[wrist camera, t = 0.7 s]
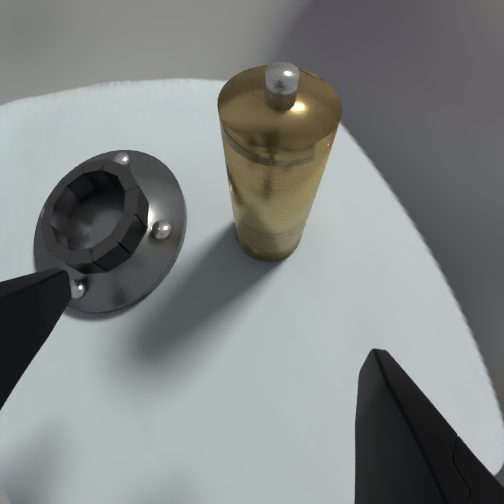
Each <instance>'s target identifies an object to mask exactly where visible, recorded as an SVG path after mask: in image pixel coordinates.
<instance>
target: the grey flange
mask: <svg viewBox="0 0 504 504" xmlns="http://www.w3.org/2000/svg"><path fill="white" fill-rule="evenodd" d="M186 222H187V213H186V205H185V200H184V196H183V194H182V191H181V188H180V186H179V184H178V181H177V180H176V178H175V176H174V174H173V173H172V172H171V171H170V169H169V168H168V167H167V166H166V165H165V164H163V163H162V162H161V161H160V160H158V159H157V158H155V157H153V156H151V155H149V154H146V153H143V152H139V151H132V150H118V151H111V152H107V153H103V154H100V155H97V156H95V157H92V158H90V159H88V160H86V161H84V162H83V163H81V164H80V165H78V166H77V167H75V168H74V169H73V170H72V171H70V172H69V173H68V174H67V175H66V176H65V177H63V178H62V179H61V181H59V183H58V184H57V186H56V187H55V188H54V189H53V191H52V192H51V194H50V195H49V197H48V199H47V200H46V202H45V204H44V206H43V208H42V210H41V213H40V216H39V219H38V222H37V226H36V230H35V237H34V255H35V262H36V266H37V270H38V272H40V271H44V270H48V269H52V268H56V267H57V268H61V269H64V270H66V271H67V272H68V274H69V279H70V285H71V291H72V296H71V300H70V302H69V303H68V306H71V307H73V308H76V309H79V310H82V311H86V312H92V313H105V312H112V311H116V310H120V309H123V308H125V307H128V306H130V305H132V304H134V303H136V302H137V301H139V300H141V299H143V298H144V297H145V296H146V295H148V294H149V293H150V292H152V291H153V290H154V289H155V288H156V287H157V286H158V285H159V284H160V283H161V282H162V280H163V279H164V278H165V276H166V275H167V274H168V273H169V271H170V269H171V268H172V266H173V265H174V263H175V261H176V259H177V257H178V255H179V253H180V250H181V247H182V244H183V241H184V237H185V232H186Z"/></svg>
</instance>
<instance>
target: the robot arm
mask: <svg viewBox="0 0 504 504" xmlns="http://www.w3.org/2000/svg"><path fill="white" fill-rule="evenodd" d="M71 296H72V291H71V285H70V279H69V274H68V272H67V271H66V270H64V269H61V268H57V267H56V268H52V269H48V270H44V271H40V272H36V273H32V274H29V275H25V276H21V277H17V278H14V279H10V280H6V281H2V282H0V410H1V409H2V407H3V405H4V403H5V402H6V400H7V399H8V397H9V395H10V394H11V392H12V390H13V389H14V387H15V386H16V384H17V382H18V381H19V379H20V378H21V376H22V375H23V373H24V372H25V370H26V369H27V367H28V366H29V364H30V363H31V361H32V360H33V358H34V357H35V355H36V354H37V352H38V351H39V350H40V348H41V347H42V345H43V344H44V342H45V341H46V339H47V338H48V337H49V335H50V333H51V332H52V330H53V328H54V327H55V325H56V323H57V321H58V320H59V318H60V316H61V315H62V313H63V311H64V310H65V308H66V307H67V305H68V303H69V302H70V300H71ZM354 504H504V486H503V485H502V484H501V483H500V482H499V481H498V480H497V479H496V478H495V477H494V476H493V475H492V474H491V473H490V472H489V471H488V469H487V468H486V467H485V466H484V465H483V464H482V463H481V462H480V461H479V460H478V459H477V457H476V456H475V455H474V454H473V453H472V451H471V450H470V449H469V448H468V447H467V445H466V444H465V443H464V442H463V440H462V439H461V438H460V437H459V436H458V437H457V433H456V432H455V431H454V429H453V428H452V427H451V426H450V425H449V423H448V422H447V421H446V420H445V418H444V417H443V416H442V415H441V414H440V412H439V411H438V410H437V409H436V408H435V406H434V405H433V404H432V403H431V402H430V400H429V399H428V398H427V397H426V396H425V394H424V393H423V392H422V391H421V390H420V389H419V387H418V386H417V385H416V384H415V383H414V382H413V380H412V379H411V378H410V377H409V376H408V374H407V373H406V372H405V371H404V370H403V369H402V368H401V366H400V365H399V364H398V363H397V362H396V361H395V359H394V358H393V357H392V356H391V355H390V354H389V353H388V352H387V351H386V350H382V349H376V348H374V349H372V350H371V351H370V352H369V354H368V356H367V358H366V360H365V362H364V364H363V366H362V368H361V370H360V373H359V379H358V394H357V407H356V419H355V503H354Z"/></svg>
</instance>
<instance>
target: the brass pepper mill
mask: <svg viewBox="0 0 504 504" xmlns="http://www.w3.org/2000/svg"><path fill="white" fill-rule="evenodd" d="M217 105H218V112H219V120H220V127H221V134H222V141H223V148H224V154H225V161H226V168H227V175H228V182H229V188H230V195H231V202H232V209H233V215H234V222H235V228H236V235H237V239H238V242H239V244H240V246H241V248H242V249H243V250H244V251H245V252H246V253H247V254H248V255H249V256H251V257H252V258H254V259H257V260H260V261H265V262H274V261H279V260H282V259H284V258H286V257H288V256H289V255H290V254H292V253H293V251H294V250H295V249H296V248H297V246H298V244H299V242H300V239H301V236H302V233H303V230H304V227H305V225H306V222H307V219H308V216H309V213H310V210H311V207H312V204H313V201H314V199H315V196H316V193H317V190H318V187H319V184H320V181H321V178H322V175H323V172H324V169H325V166H326V163H327V160H328V157H329V154H330V150H331V147H332V144H333V141H334V138H335V135H336V132H337V128H338V125H339V122H340V119H341V114H342V108H341V103H340V100H339V97H338V95H337V94H336V92H335V91H334V90H333V88H332V87H331V86H330V85H329V84H327V83H326V82H325V81H324V80H323V79H321V78H320V77H318V76H316V75H315V74H312V73H310V72H308V71H306V70H302V69H300V68H297V67H296V66H294V65H292V64H290V63H286V62H275V63H272V64H270V65H265V66H259V67H255V68H251V69H248V70H245V71H243V72H241V73H239V74H237V75H235V76H234V77H233V78H231V79H230V80H229V81H228V82H227V83H226V84H225V85H224V86H223V88H222V89H221V91H220V94H219V97H218V104H217Z"/></svg>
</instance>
